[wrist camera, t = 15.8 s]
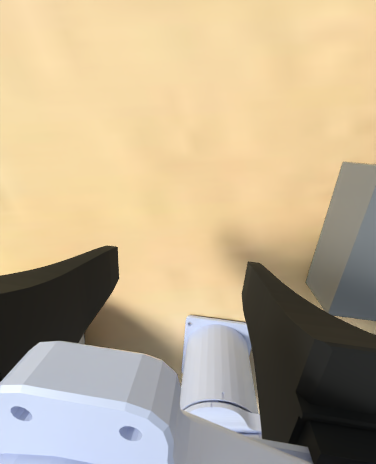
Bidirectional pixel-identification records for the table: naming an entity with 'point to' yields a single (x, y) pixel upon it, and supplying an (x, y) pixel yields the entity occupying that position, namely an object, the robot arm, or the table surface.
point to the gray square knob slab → (348, 247)
